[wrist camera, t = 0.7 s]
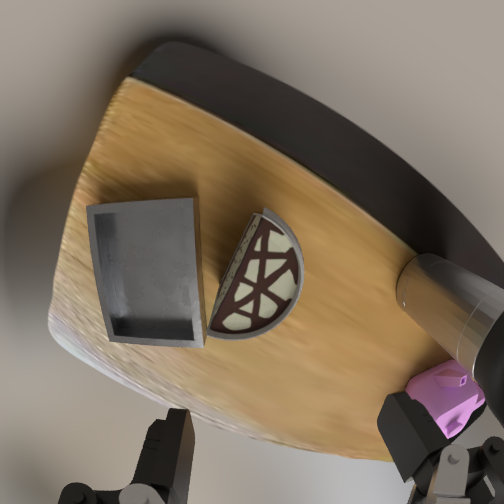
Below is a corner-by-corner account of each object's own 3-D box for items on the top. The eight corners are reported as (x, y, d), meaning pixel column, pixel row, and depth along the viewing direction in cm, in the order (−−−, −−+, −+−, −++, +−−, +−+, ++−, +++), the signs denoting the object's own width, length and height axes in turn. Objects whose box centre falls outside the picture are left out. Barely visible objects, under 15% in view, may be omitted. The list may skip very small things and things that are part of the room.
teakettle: (417, 425, 42) (439, 462, 30) (372, 414, 40) (396, 462, 28) (469, 367, 39) (500, 400, 27) (436, 343, 36) (476, 384, 24)
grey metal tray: (198, 196, 30) (192, 198, 26) (207, 332, 34) (203, 347, 30) (100, 202, 29) (86, 205, 26) (119, 328, 34) (109, 341, 30)
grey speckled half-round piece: (261, 314, 33) (267, 363, 24) (214, 295, 33) (203, 340, 23) (308, 224, 31) (335, 243, 21) (259, 200, 30) (266, 209, 20)
